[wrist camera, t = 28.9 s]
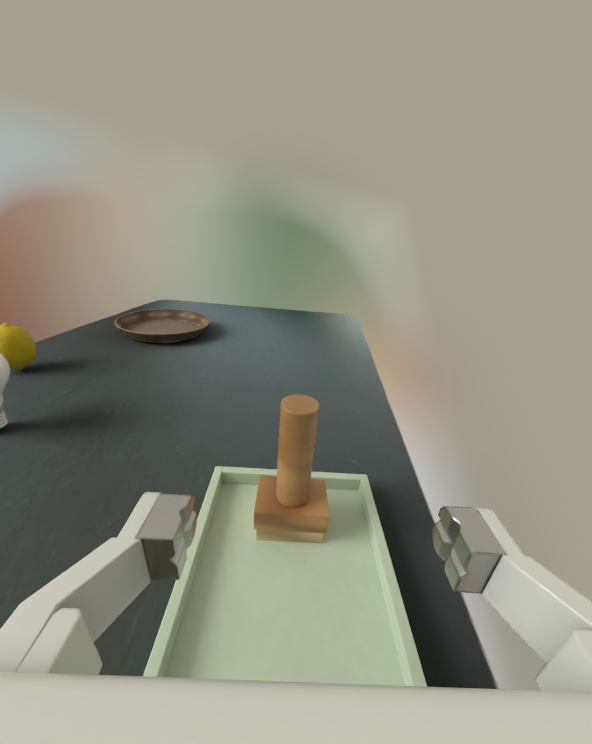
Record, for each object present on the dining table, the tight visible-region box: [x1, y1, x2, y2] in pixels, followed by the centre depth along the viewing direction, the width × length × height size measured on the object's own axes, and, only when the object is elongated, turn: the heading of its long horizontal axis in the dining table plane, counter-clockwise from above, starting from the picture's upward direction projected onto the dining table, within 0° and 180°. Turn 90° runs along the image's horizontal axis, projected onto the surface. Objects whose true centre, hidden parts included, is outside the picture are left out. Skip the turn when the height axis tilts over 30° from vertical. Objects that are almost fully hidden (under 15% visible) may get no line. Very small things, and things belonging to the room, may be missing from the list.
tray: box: [143, 466, 427, 687], centre depth 21 cm, size 16×24×2 cm, turn 0°
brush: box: [254, 395, 329, 543], centre depth 25 cm, size 6×4×12 cm, turn 90°
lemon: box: [0, 323, 36, 370], centre depth 49 cm, size 6×6×8 cm
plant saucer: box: [115, 309, 210, 343], centre depth 72 cm, size 21×21×3 cm
